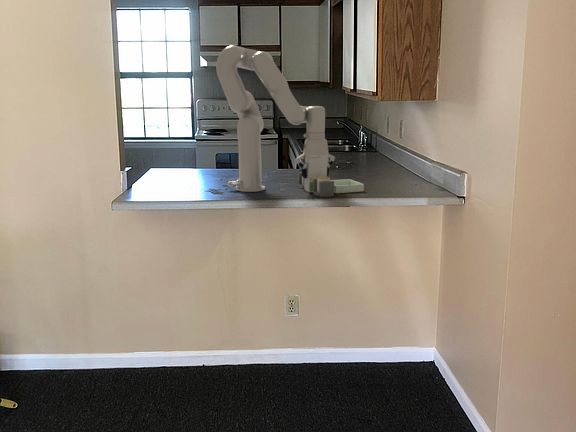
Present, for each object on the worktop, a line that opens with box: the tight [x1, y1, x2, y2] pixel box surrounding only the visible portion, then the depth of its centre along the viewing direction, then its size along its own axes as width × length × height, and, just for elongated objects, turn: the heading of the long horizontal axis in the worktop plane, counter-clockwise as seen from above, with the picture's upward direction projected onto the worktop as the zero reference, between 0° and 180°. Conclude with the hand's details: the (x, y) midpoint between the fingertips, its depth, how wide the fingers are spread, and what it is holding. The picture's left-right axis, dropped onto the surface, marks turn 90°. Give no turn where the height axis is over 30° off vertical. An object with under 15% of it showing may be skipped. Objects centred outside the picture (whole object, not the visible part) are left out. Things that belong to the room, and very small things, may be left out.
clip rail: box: [297, 172, 335, 198], centre depth 259 cm, size 7×26×6 cm, turn 19°
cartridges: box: [302, 175, 331, 193], centre depth 259 cm, size 4×22×7 cm, turn 19°
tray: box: [330, 178, 365, 194], centre depth 262 cm, size 13×14×3 cm
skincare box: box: [303, 155, 327, 193], centre depth 258 cm, size 8×7×16 cm
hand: (315, 177), depth 258 cm, fingers open, 9 cm apart
